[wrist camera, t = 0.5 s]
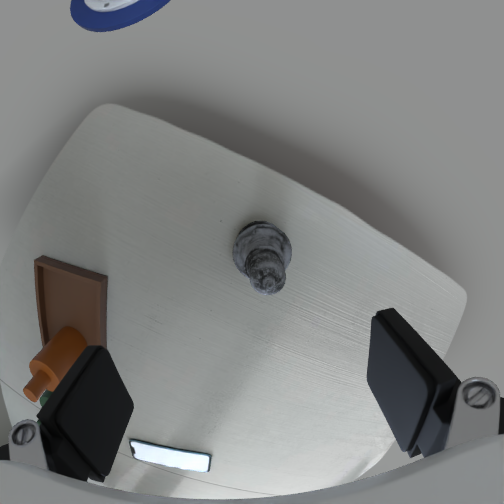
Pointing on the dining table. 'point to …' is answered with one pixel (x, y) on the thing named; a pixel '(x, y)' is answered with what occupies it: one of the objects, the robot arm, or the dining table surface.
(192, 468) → the smartphone
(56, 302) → the tray
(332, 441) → the dining table surface
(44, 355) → the amber bottle
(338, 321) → the dining table surface
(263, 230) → the salt shaker
